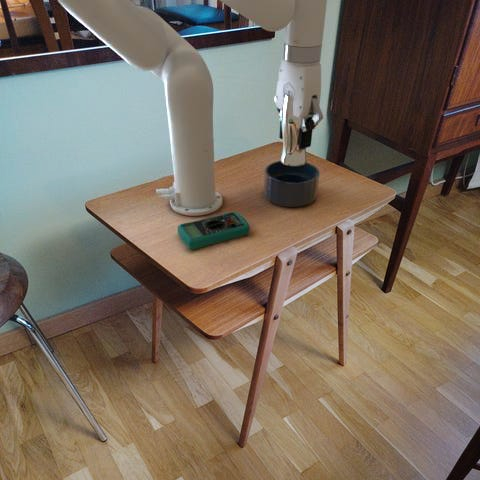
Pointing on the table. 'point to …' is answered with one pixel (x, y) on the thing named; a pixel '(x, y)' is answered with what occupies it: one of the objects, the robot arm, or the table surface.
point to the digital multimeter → (213, 230)
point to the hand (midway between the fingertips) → (294, 141)
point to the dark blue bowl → (291, 184)
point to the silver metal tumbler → (291, 135)
